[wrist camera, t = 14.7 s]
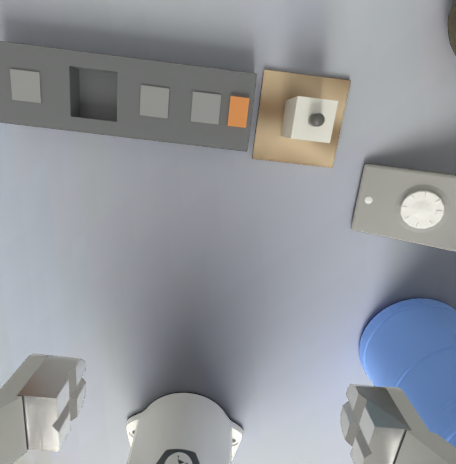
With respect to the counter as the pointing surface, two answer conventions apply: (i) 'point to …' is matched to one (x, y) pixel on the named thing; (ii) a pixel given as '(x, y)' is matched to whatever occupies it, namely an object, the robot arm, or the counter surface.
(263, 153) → the cork pad
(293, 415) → the counter surface
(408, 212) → the light switch
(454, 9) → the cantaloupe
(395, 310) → the water jug
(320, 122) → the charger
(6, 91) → the power strip
